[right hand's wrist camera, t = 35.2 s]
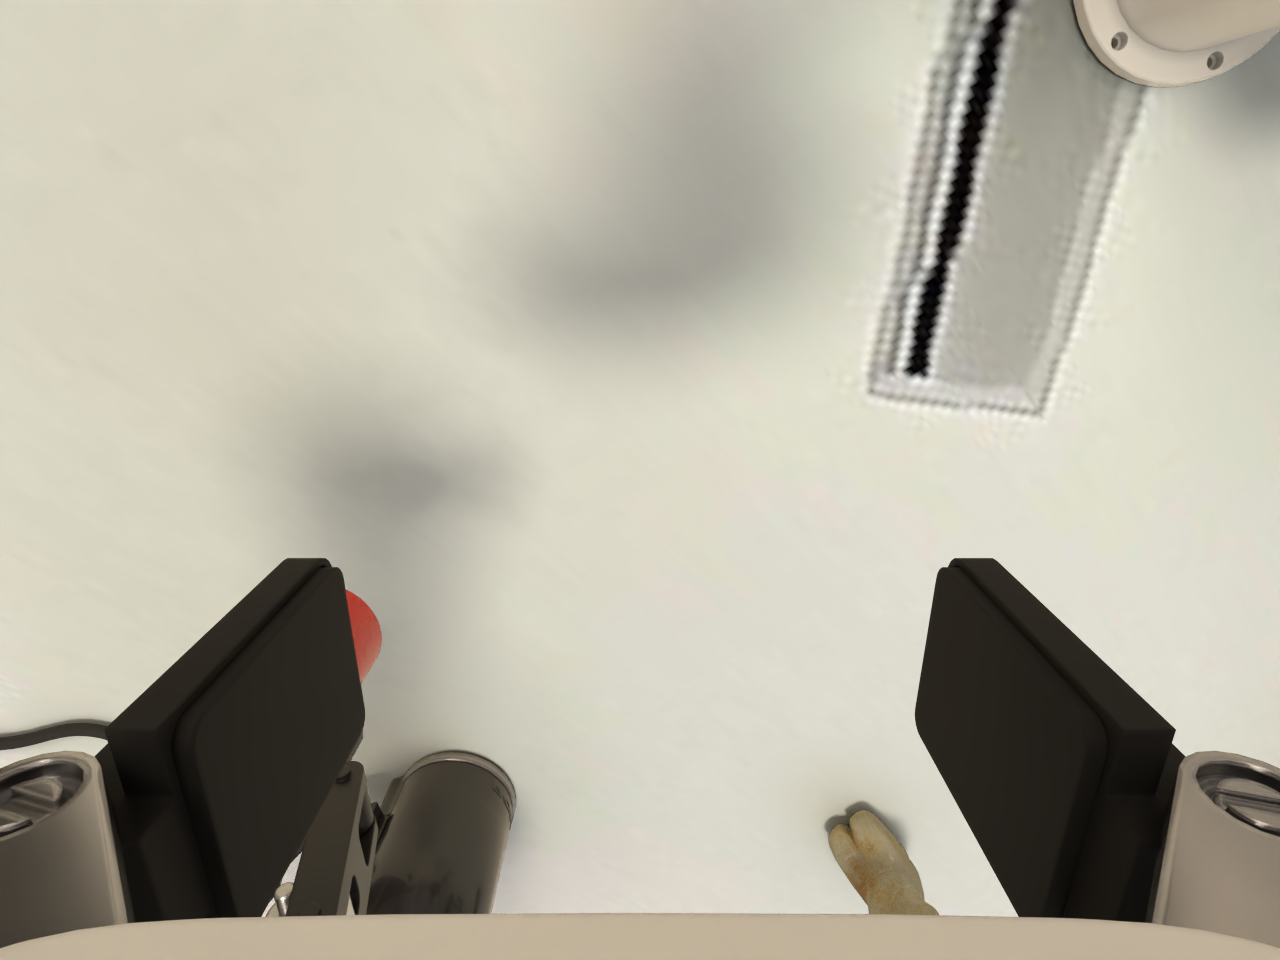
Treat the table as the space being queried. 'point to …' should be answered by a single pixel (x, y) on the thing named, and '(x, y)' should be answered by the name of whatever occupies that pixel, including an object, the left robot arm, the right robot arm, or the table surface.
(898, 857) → the sculpture
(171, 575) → the table surface
